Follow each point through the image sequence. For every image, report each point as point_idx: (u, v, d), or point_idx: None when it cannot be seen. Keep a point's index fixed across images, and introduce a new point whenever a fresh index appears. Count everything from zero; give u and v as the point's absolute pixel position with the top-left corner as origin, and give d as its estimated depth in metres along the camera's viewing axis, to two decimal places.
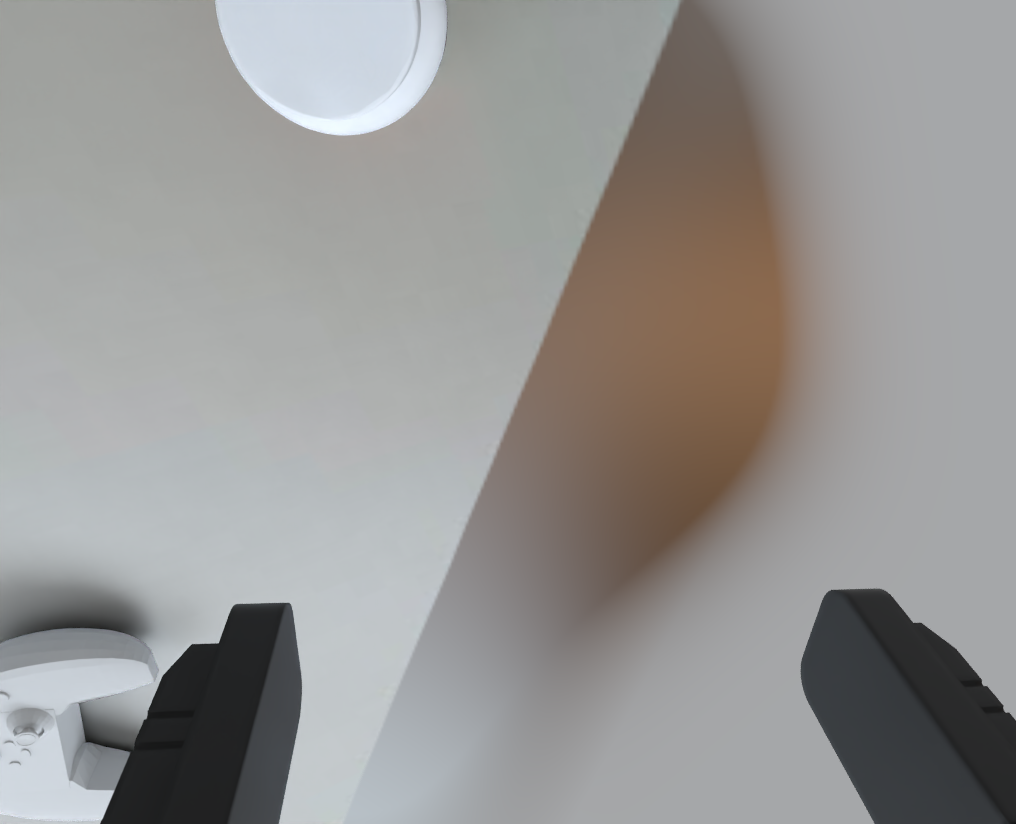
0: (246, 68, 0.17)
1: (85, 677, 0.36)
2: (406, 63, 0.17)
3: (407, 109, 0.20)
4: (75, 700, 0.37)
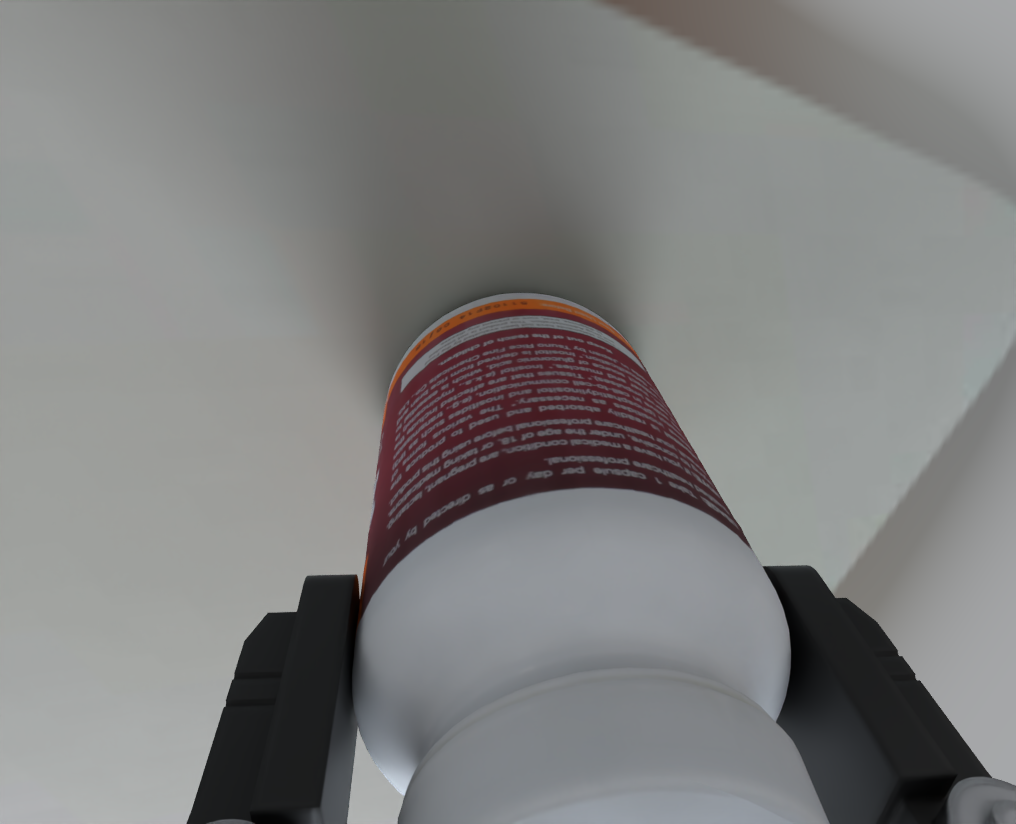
0: None
1: None
2: None
3: None
4: None
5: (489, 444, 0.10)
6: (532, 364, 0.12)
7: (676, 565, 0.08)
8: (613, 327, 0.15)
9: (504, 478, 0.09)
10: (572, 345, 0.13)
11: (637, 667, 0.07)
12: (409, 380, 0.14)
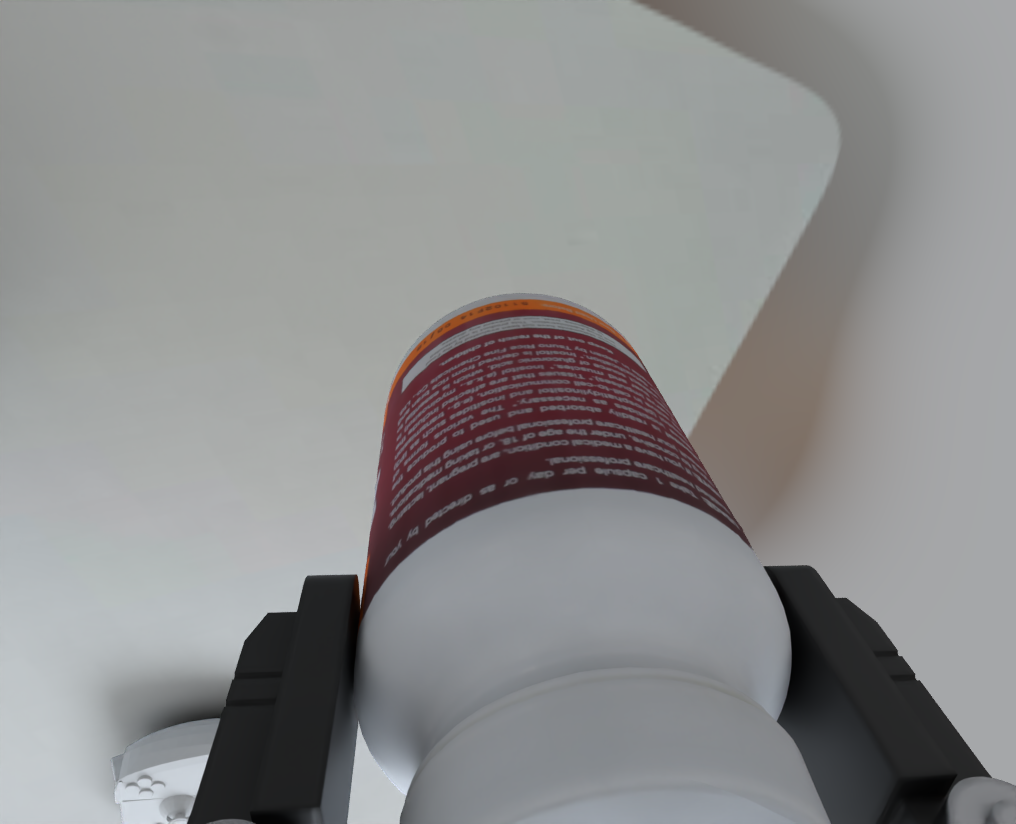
0: None
1: None
2: None
3: None
4: None
5: (491, 445, 0.10)
6: (534, 365, 0.12)
7: (676, 566, 0.08)
8: None
9: (506, 478, 0.09)
10: (573, 346, 0.13)
11: (638, 667, 0.07)
12: (410, 380, 0.14)
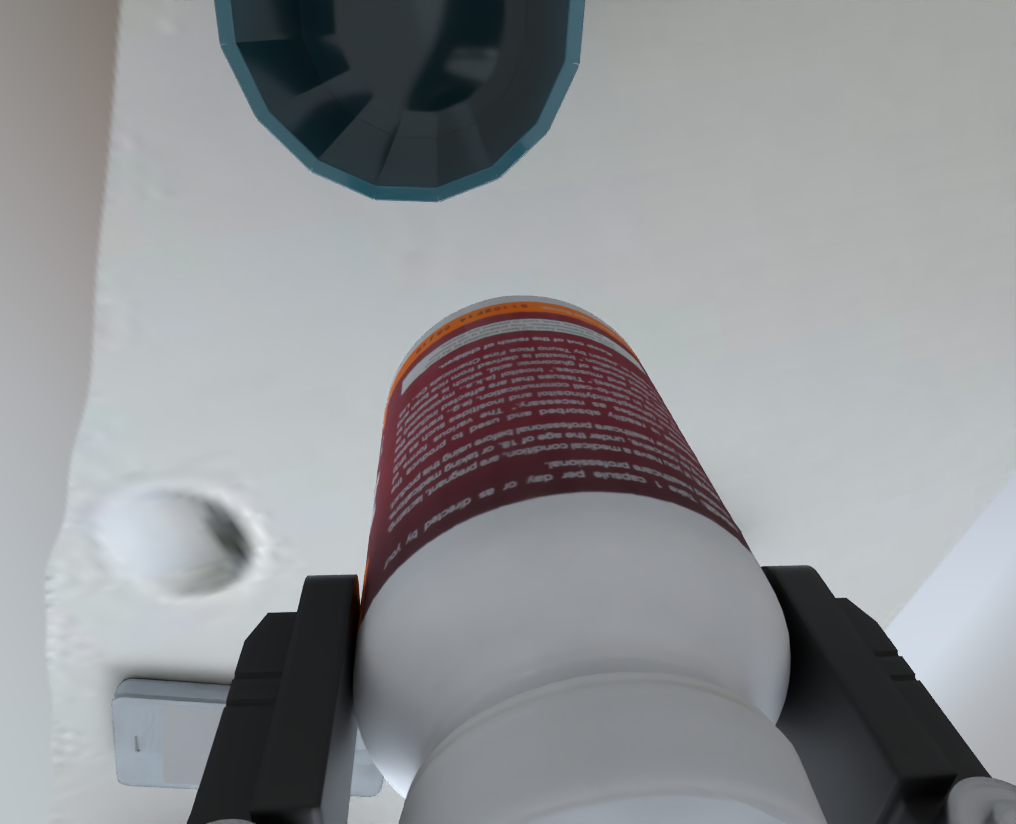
0: None
1: None
2: None
3: None
4: None
5: (490, 448, 0.10)
6: (533, 367, 0.12)
7: (675, 570, 0.08)
8: (613, 330, 0.15)
9: (505, 481, 0.09)
10: (573, 348, 0.13)
11: (637, 671, 0.07)
12: (409, 383, 0.14)
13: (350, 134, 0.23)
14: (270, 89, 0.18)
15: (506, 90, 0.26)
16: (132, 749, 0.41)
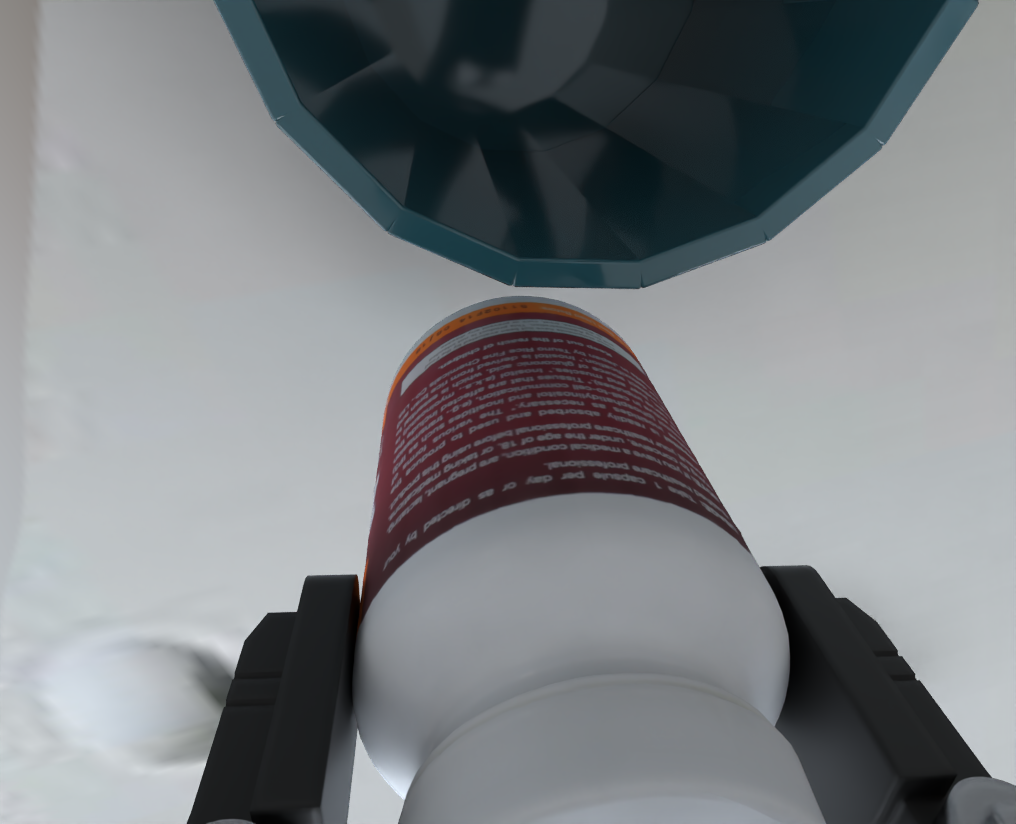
0: None
1: None
2: None
3: None
4: None
5: (489, 448, 0.10)
6: (532, 368, 0.12)
7: (675, 571, 0.08)
8: (613, 330, 0.15)
9: (504, 483, 0.09)
10: (572, 349, 0.13)
11: (637, 672, 0.07)
12: (409, 383, 0.14)
13: (427, 148, 0.13)
14: (301, 60, 0.09)
15: (658, 75, 0.17)
16: None
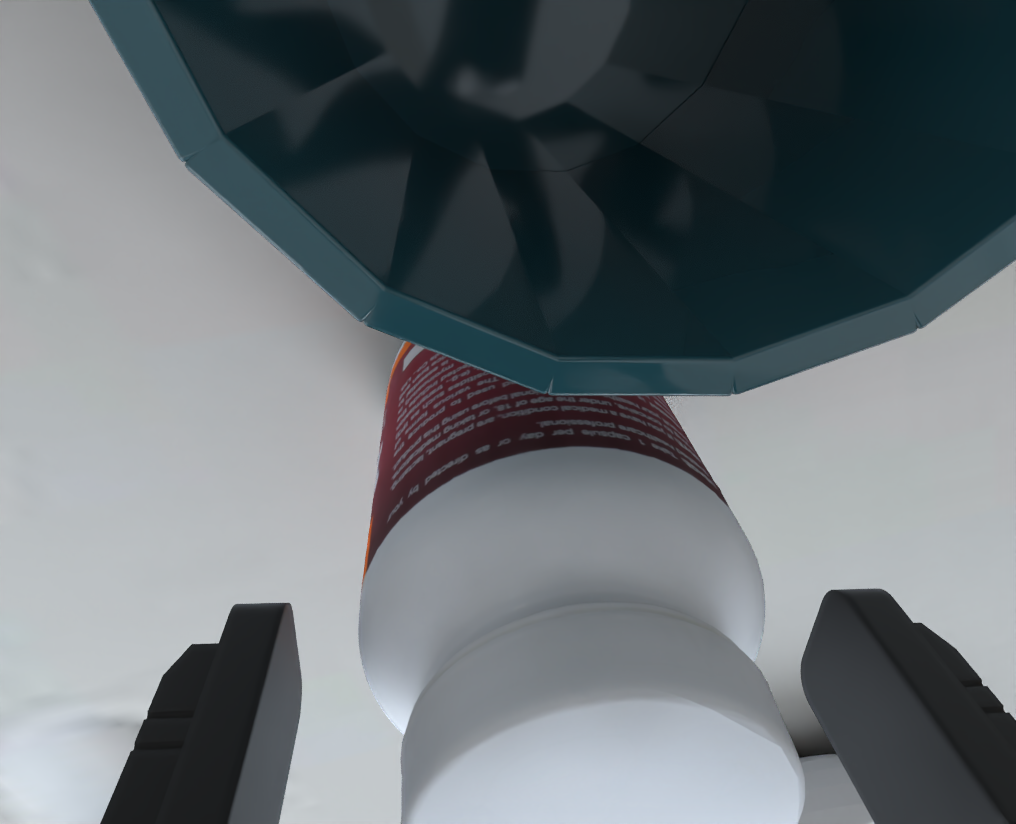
0: None
1: None
2: None
3: None
4: None
5: (486, 411, 0.11)
6: None
7: (655, 514, 0.09)
8: None
9: (500, 439, 0.10)
10: None
11: None
12: (411, 359, 0.14)
13: (425, 175, 0.11)
14: (234, 66, 0.06)
15: (705, 81, 0.14)
16: None
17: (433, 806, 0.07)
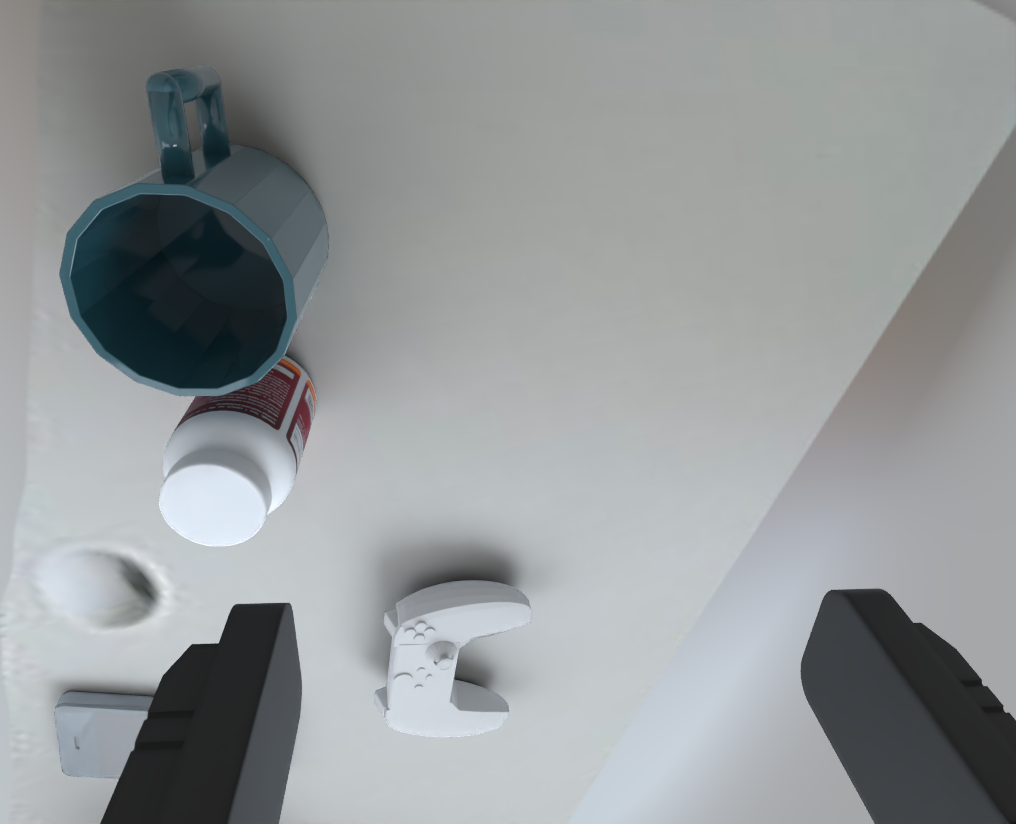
0: (176, 529, 0.32)
1: (489, 617, 0.47)
2: (261, 523, 0.32)
3: (274, 509, 0.35)
4: (476, 635, 0.48)
5: (206, 400, 0.34)
6: None
7: (237, 428, 0.32)
8: (292, 361, 0.40)
9: (203, 408, 0.33)
10: None
11: None
12: None
13: (186, 327, 0.34)
14: (110, 330, 0.29)
15: None
16: (72, 747, 0.52)
17: (164, 494, 0.31)
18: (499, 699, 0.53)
